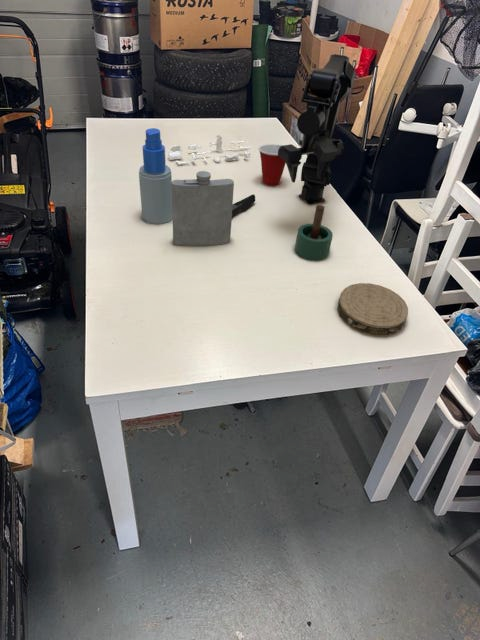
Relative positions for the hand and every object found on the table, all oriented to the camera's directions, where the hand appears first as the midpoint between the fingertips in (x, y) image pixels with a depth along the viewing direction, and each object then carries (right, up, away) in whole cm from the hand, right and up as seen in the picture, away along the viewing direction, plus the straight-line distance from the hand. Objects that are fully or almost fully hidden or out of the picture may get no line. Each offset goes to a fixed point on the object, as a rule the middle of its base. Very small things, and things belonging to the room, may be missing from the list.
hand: (306, 179), depth 133 cm
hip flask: (-30, -19, -5) cm, 36 cm away
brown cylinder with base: (+1, -21, -5) cm, 21 cm away
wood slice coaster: (+12, -39, -23) cm, 47 cm away
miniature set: (-31, +20, +40) cm, 54 cm away
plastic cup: (-8, +7, +28) cm, 30 cm away
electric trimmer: (-20, -7, +10) cm, 23 cm away
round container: (+1, -21, -4) cm, 22 cm away
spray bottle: (-44, -10, +4) cm, 45 cm away
